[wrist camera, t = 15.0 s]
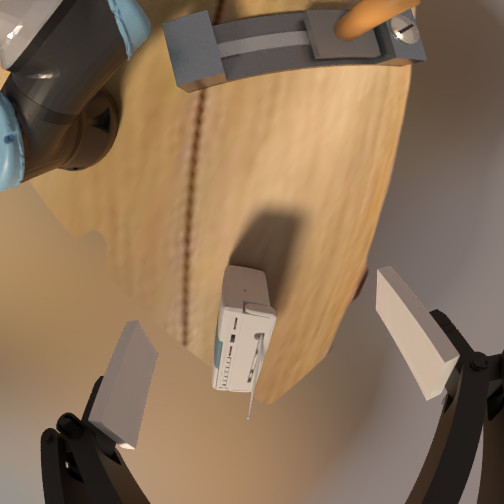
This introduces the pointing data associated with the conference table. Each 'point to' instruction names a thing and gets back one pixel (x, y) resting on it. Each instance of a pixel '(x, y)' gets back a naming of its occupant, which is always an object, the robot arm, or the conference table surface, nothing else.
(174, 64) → the rail
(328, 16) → the carriage
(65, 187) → the conference table surface
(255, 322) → the stereo radio cassette player
